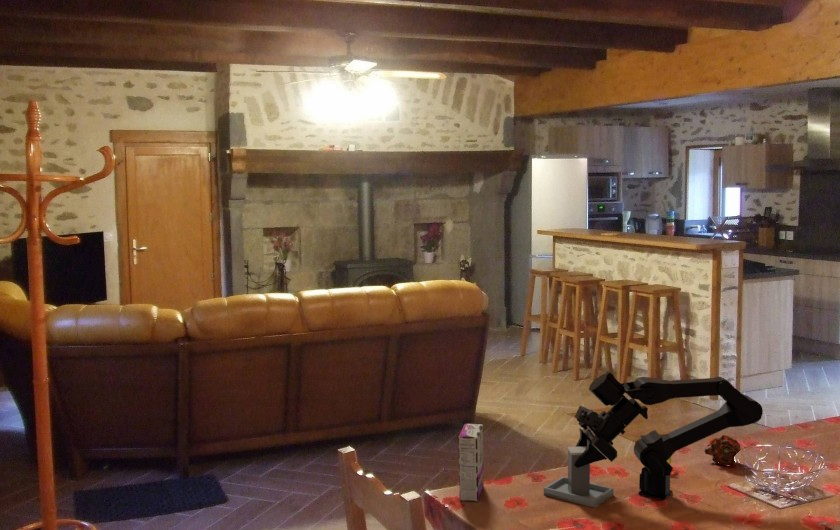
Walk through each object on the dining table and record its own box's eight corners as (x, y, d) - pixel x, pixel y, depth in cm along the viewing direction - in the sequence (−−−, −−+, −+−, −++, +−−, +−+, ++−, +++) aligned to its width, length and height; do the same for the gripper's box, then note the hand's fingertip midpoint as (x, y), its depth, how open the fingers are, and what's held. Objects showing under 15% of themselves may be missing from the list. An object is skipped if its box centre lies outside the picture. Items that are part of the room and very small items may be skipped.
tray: (613, 495, 201) (613, 488, 201) (595, 507, 193) (595, 500, 193) (563, 483, 210) (563, 476, 210) (543, 494, 202) (543, 487, 202)
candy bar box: (464, 484, 209) (464, 422, 208) (484, 486, 208) (483, 423, 207) (458, 501, 198) (457, 435, 197) (478, 502, 197) (478, 436, 196)
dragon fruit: (733, 477, 217) (712, 469, 229) (756, 457, 218) (734, 449, 230) (714, 452, 217) (694, 445, 228) (737, 432, 218) (716, 426, 230)
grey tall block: (585, 489, 204) (586, 446, 203) (590, 496, 199) (590, 452, 198) (567, 489, 204) (567, 446, 203) (570, 496, 199) (571, 452, 198)
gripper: (586, 386, 208) (544, 429, 209) (604, 406, 190) (557, 452, 191) (617, 416, 209) (574, 458, 210) (637, 438, 191) (590, 484, 192)
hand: (573, 462), depth 201 cm, fingers open, 5 cm apart
